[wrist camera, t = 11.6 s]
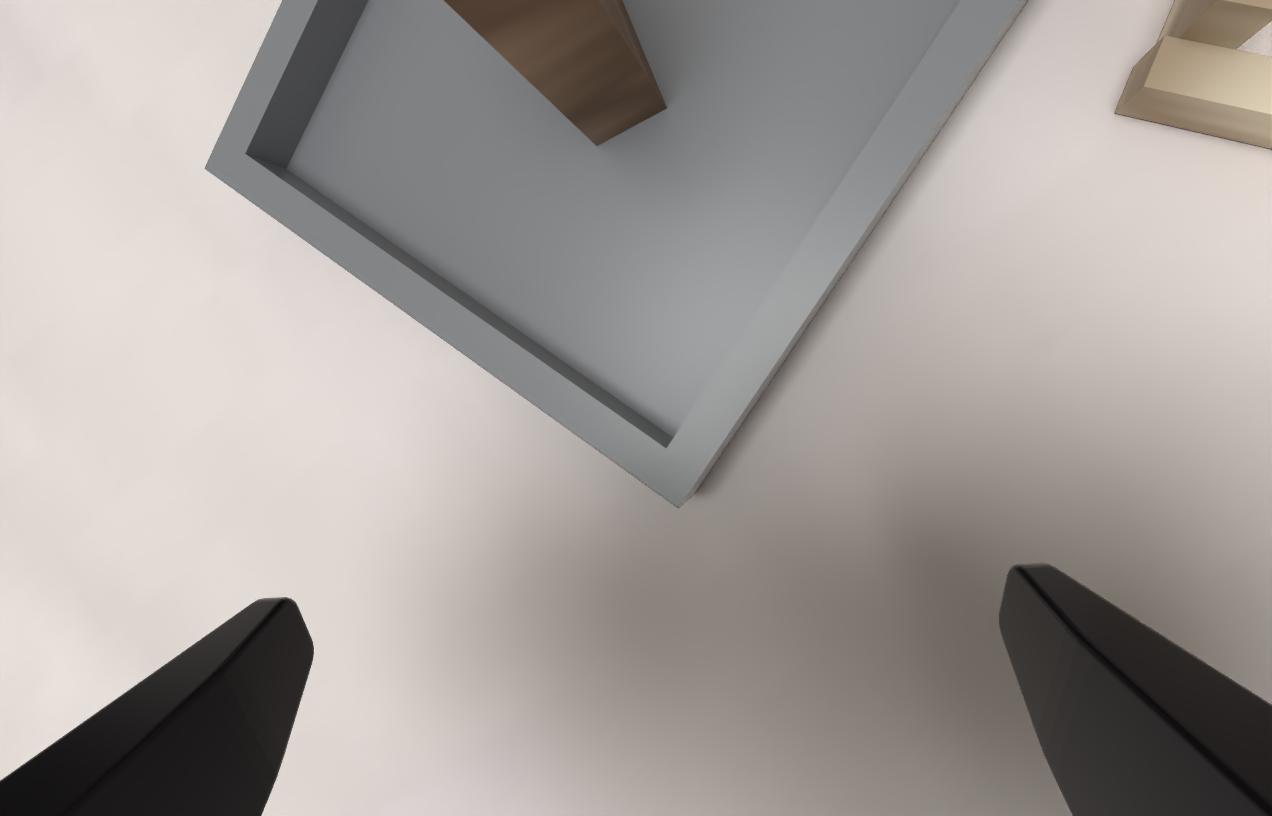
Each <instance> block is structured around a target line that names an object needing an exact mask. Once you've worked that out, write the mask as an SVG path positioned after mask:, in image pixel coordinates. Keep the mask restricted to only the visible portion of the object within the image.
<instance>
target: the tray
mask: <svg viewBox="0 0 1272 816" xmlns="http://www.w3.org/2000/svg"><path fill="white" fill-rule="evenodd" d="M1027 1H1028V0H623V3H624V5H625V8H626V10H627V13H628V15H629V17H630V20H631V22H632V25H633V27H634V29H635V32H636V34H637V37H638V39H639V41H640V44H641V46H642V49H643V51H644V53H645V56H646V58H647V61H648V63H649V66H650V68H651V70H652V73H653V75H654V78H655V80H656V82H657V85H658V87H659V90H660V92H661V94H662V97H663V99H664V102H665V104H666V106H667V109H665V110H663V111H661V112H659V113H658V114H656V115H654V116H652V117H650V118H648V119H646V120H645V121H643V122H641V123H639V124H637V125H635V126H633V127H632V128H630V129H628V130H626V131H624V132H622V133H620V134H619V135H617V136H615V137H613V138H611V139H609V140H608V141H606V142H604V143H602V144H600V145H598V146H596V145H595V144H594V143H593V142H592V141H591V140H590V139H589V138H587V137H586V136H585V135H584V134H583V133H582V132H581V131H580V130H579V129H578V128H577V127H576V126H575V125H574V124H573V123H572V122H571V121H570V120H569V119H568V118H566V117H565V116H564V115H563V114H562V113H561V112H560V111H559V110H558V109H557V108H556V107H555V106H554V105H553V104H552V103H551V102H550V101H549V100H548V99H547V98H545V97H544V96H543V95H542V94H541V93H540V92H539V91H538V90H537V89H536V88H535V87H534V86H533V85H532V84H531V83H530V82H529V81H528V80H527V79H526V78H525V77H523V76H522V75H521V74H520V73H519V72H518V71H517V70H516V69H515V68H514V67H513V66H512V65H511V64H510V63H509V62H508V61H507V60H506V59H505V58H504V57H502V56H501V55H500V54H499V53H498V52H497V51H496V50H495V49H494V48H493V47H492V46H491V45H490V44H489V43H488V42H487V41H486V40H485V39H484V38H483V37H481V36H480V35H479V34H478V33H477V32H476V31H475V30H474V29H473V28H472V27H471V26H470V25H469V24H468V23H467V22H466V21H465V20H464V19H463V18H462V17H460V16H459V15H458V14H457V13H456V12H455V11H454V10H453V9H452V8H451V7H450V6H449V5H448V4H447V3H446V2H445V1H444V0H282V2H281V5H280V7H279V9H278V11H277V13H276V15H275V17H274V20H273V22H272V24H271V26H270V28H269V30H268V33H267V35H266V37H265V39H264V41H263V43H262V45H261V48H260V50H259V52H258V54H257V56H256V58H255V61H254V63H253V65H252V67H251V69H250V71H249V73H248V76H247V78H246V80H245V82H244V84H243V86H242V89H241V91H240V93H239V95H238V97H237V99H236V102H235V104H234V106H233V108H232V110H231V112H230V114H229V117H228V119H227V121H226V123H225V125H224V127H223V130H222V132H221V134H220V136H219V138H218V140H217V142H216V145H215V147H214V149H213V151H212V153H211V155H210V158H209V160H208V162H207V164H206V166H205V169H206V170H207V171H209V172H210V173H211V174H213V175H214V176H216V177H217V178H218V179H220V180H221V181H223V182H224V183H225V184H227V185H228V186H230V187H231V188H232V189H234V190H235V191H237V192H238V193H239V194H241V195H242V196H244V197H245V198H246V199H248V200H249V201H251V202H252V203H253V204H255V205H256V206H257V207H259V208H260V209H262V210H263V211H264V212H266V213H267V214H269V215H270V216H271V217H273V218H274V219H276V220H277V221H278V222H280V223H281V224H283V225H284V226H285V227H287V228H288V229H290V230H291V231H292V232H294V233H295V234H297V235H298V236H299V237H301V238H302V239H303V240H305V241H306V242H308V243H309V244H310V245H312V246H313V247H315V248H316V249H317V250H319V251H320V252H322V253H323V254H324V255H326V256H327V257H329V258H330V259H331V260H333V261H334V262H336V263H337V264H338V265H340V266H341V267H343V268H344V269H345V270H347V271H348V272H349V273H351V274H352V275H354V276H355V277H356V278H358V279H359V280H361V281H362V282H363V283H365V284H366V285H368V286H369V287H370V288H372V289H373V290H375V291H376V292H377V293H379V294H380V295H382V296H383V297H384V298H386V299H387V300H389V301H390V302H391V303H393V304H394V305H395V306H397V307H398V308H400V309H401V310H402V311H404V312H405V313H407V314H408V315H409V316H411V317H412V318H414V319H415V320H416V321H418V322H419V323H421V324H422V325H423V326H425V327H426V328H428V329H429V330H430V331H432V332H433V333H435V334H436V335H437V336H439V337H440V338H441V339H443V340H444V341H446V342H447V343H448V344H450V345H451V346H453V347H454V348H455V349H457V350H458V351H460V352H461V353H462V354H464V355H465V356H467V357H468V358H469V359H471V360H472V361H474V362H475V363H476V364H478V365H479V366H481V367H482V368H483V369H485V370H486V371H487V372H489V373H490V374H492V375H493V376H494V377H496V378H497V379H499V380H500V381H501V382H503V383H504V384H506V385H507V386H508V387H510V388H511V389H513V390H514V391H515V392H517V393H518V394H520V395H521V396H522V397H524V398H525V399H527V400H528V401H529V402H531V403H532V404H533V405H535V406H536V407H538V408H539V409H540V410H542V411H543V412H545V413H546V414H547V415H549V416H550V417H552V418H553V419H554V420H556V421H557V422H559V423H560V424H561V425H563V426H564V427H566V428H567V429H568V430H570V431H571V432H573V433H574V434H575V435H577V436H578V437H579V438H581V439H582V440H584V441H585V442H586V443H588V444H589V445H591V446H592V447H593V448H595V449H596V450H598V451H599V452H600V453H602V454H603V455H605V456H606V457H607V458H609V459H610V460H612V461H613V462H614V463H616V464H617V465H619V466H620V467H621V468H623V469H624V470H626V471H627V472H628V473H630V474H631V475H632V476H634V477H635V478H637V479H638V480H639V481H641V482H642V483H644V484H645V485H646V486H648V487H649V488H651V489H652V490H653V491H655V492H656V493H658V494H659V495H660V496H662V497H663V498H665V499H666V500H667V501H669V502H670V503H672V504H673V505H674V506H676V507H677V508H679V507H680V506H682V505H683V504H684V503H685V502H686V501H687V500H688V499H690V498H691V497H692V496H693V495H694V494H695V493H696V491H697V490H698V488H699V487H700V485H701V484H702V482H703V481H704V479H705V478H706V476H707V475H708V473H709V472H710V470H711V469H712V467H713V466H714V465H715V463H716V462H717V460H718V459H719V457H720V456H721V454H722V453H723V451H724V450H725V448H726V447H727V445H728V444H729V442H730V441H731V439H732V438H733V436H734V435H735V433H736V432H737V430H738V429H739V427H740V426H741V425H742V423H743V422H744V420H745V419H746V417H747V416H748V414H749V413H750V411H751V410H752V408H753V407H754V405H755V404H756V402H757V401H758V399H759V398H760V396H761V395H762V393H763V392H764V390H765V389H766V388H767V386H768V385H769V383H770V382H771V380H772V379H773V377H774V376H775V374H776V373H777V371H778V370H779V368H780V367H781V365H782V364H783V362H784V361H785V359H786V358H787V356H788V355H789V353H790V352H791V351H792V349H793V348H794V346H795V345H796V343H797V342H798V340H799V339H800V337H801V336H802V334H803V333H804V331H805V330H806V328H807V327H808V325H809V324H810V322H811V321H812V319H813V318H814V316H815V315H816V314H817V312H818V311H819V309H820V308H821V306H822V305H823V303H824V302H825V300H826V299H827V297H828V296H829V294H830V293H831V291H832V290H833V288H834V287H835V285H836V284H837V282H838V281H839V279H840V278H841V277H842V275H843V274H844V272H845V271H846V269H847V268H848V266H849V265H850V263H851V262H852V260H853V259H854V257H855V256H856V254H857V253H858V251H859V250H860V248H861V247H862V245H863V244H864V242H865V241H866V240H867V238H868V237H869V235H870V234H871V232H872V231H873V229H874V228H875V226H876V225H877V223H878V222H879V220H880V219H881V217H882V216H883V214H884V213H885V211H886V210H887V208H888V207H889V205H890V204H891V203H892V201H893V200H894V198H895V197H896V195H897V194H898V192H899V191H900V189H901V188H902V186H903V185H904V183H905V182H906V180H907V179H908V177H909V176H910V174H911V173H912V171H913V170H914V168H915V167H916V166H917V164H918V163H919V161H920V160H921V158H922V157H923V155H924V154H925V152H926V151H927V149H928V148H929V146H930V145H931V143H932V142H933V140H934V139H935V137H936V136H937V134H938V133H939V131H940V130H941V128H942V127H943V126H944V124H945V123H946V121H947V120H948V118H949V117H950V115H951V114H952V112H953V111H954V109H955V108H956V106H957V105H958V103H959V102H960V100H961V99H962V97H963V96H964V94H965V93H966V91H967V90H968V89H969V87H970V86H971V84H972V83H973V81H974V80H975V78H976V77H977V75H978V74H979V72H980V71H981V69H982V68H983V66H984V65H985V63H986V62H987V60H988V59H989V57H990V56H991V54H992V53H993V52H994V50H995V49H996V47H997V46H998V44H999V43H1000V41H1001V40H1002V38H1003V37H1004V35H1005V34H1006V32H1007V31H1008V29H1009V28H1010V26H1011V25H1012V23H1013V22H1014V20H1015V19H1016V17H1017V16H1018V15H1019V13H1020V12H1021V10H1022V9H1023V7H1024V6H1025V4H1026V3H1027Z"/></svg>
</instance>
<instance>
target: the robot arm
mask: <svg viewBox="0 0 1272 816" xmlns="http://www.w3.org/2000/svg"><path fill="white" fill-rule="evenodd" d="M999 626H1000V631H1001V635H1002V638H1003V641H1004V643H1005V646H1006V649H1007V652H1008V655H1009V658H1010V660H1011V663H1012V666H1013V669H1014V672H1015V675H1016V677H1017V680H1018V683H1019V686H1020V689H1021V692H1022V694H1023V697H1024V700H1025V703H1026V706H1027V709H1028V712H1029V714H1030V717H1031V720H1032V723H1033V726H1034V729H1035V731H1036V734H1037V737H1038V739H1039V742H1040V745H1041V747H1042V750H1043V753H1044V755H1045V757H1046V760H1047V762H1048V764H1049V766H1050V768H1051V771H1052V773H1053V775H1054V777H1055V779H1056V781H1057V784H1058V786H1059V788H1060V790H1061V792H1062V794H1063V796H1064V798H1065V800H1066V802H1067V805H1068V807H1069V809H1070V811H1071V813H1072V815H1073V816H1272V705H1271V704H1270V703H1268V702H1266V701H1265V700H1263V699H1262V698H1260V697H1258V696H1257V695H1255V694H1254V693H1252V692H1251V691H1249V690H1247V689H1246V688H1244V687H1243V686H1241V685H1240V684H1238V683H1236V682H1235V681H1233V680H1232V679H1230V678H1229V677H1227V676H1225V675H1224V674H1222V673H1221V672H1219V671H1218V670H1216V669H1214V668H1213V667H1211V666H1210V665H1208V664H1206V663H1205V662H1203V661H1202V660H1200V659H1199V658H1197V657H1195V656H1194V655H1192V654H1191V653H1189V652H1188V651H1186V650H1184V649H1183V648H1181V647H1180V646H1178V645H1177V644H1175V643H1173V642H1172V641H1170V640H1169V639H1167V638H1166V637H1164V636H1162V635H1161V634H1159V633H1158V632H1156V631H1154V630H1153V629H1151V628H1150V627H1148V626H1147V625H1145V624H1143V623H1142V622H1140V621H1139V620H1137V619H1136V618H1134V617H1132V616H1131V615H1129V614H1128V613H1126V612H1125V611H1123V610H1121V609H1120V608H1118V607H1117V606H1115V605H1114V604H1112V603H1110V602H1109V601H1107V600H1106V599H1104V598H1102V597H1101V596H1099V595H1098V594H1096V593H1095V592H1093V591H1091V590H1090V589H1088V588H1087V587H1085V586H1084V585H1082V584H1080V583H1079V582H1077V581H1076V580H1074V579H1073V578H1071V577H1069V576H1068V575H1066V574H1065V573H1063V572H1062V571H1060V570H1058V569H1057V568H1055V567H1053V566H1051V565H1049V564H1044V563H1038V564H1018V565H1015V566H1013V567H1011V569H1010V570H1009V572H1008V575H1007V579H1006V584H1005V588H1004V593H1003V598H1002V602H1001V607H1000V612H999ZM313 655H314V647H313V641H312V638H311V636H310V634H309V631H308V629H307V627H306V624H305V622H304V620H303V617H302V615H301V613H300V610H299V608H298V606H297V604H296V602H295V601H293V600H292V599H291V598H287V597H281V598H263V599H259V600H257V601H255V602H253V603H252V604H250V605H249V606H248V607H246V608H245V609H243V610H242V611H240V612H239V613H238V614H236V615H235V616H233V617H232V618H231V619H229V620H228V621H226V622H225V623H223V624H222V625H221V626H219V627H218V628H216V629H215V630H214V631H212V632H211V633H209V634H208V635H206V636H205V637H204V638H202V639H201V640H199V641H198V642H196V643H195V644H194V645H192V646H191V647H189V648H188V649H187V650H185V651H184V652H182V653H181V654H179V655H178V656H177V657H175V658H174V659H172V660H171V661H170V662H168V663H167V664H165V665H164V666H162V667H161V668H160V669H158V670H157V671H155V672H154V673H152V674H151V675H150V676H148V677H147V678H145V679H144V680H143V681H141V682H140V683H138V684H137V685H135V686H134V687H133V688H131V689H130V690H128V691H127V692H126V693H124V694H123V695H121V696H120V697H118V698H117V699H116V700H114V701H113V702H111V703H110V704H108V705H107V706H106V707H104V708H103V709H101V710H100V711H99V712H97V713H96V714H94V715H93V716H91V717H90V718H89V719H87V720H86V721H84V722H83V723H82V724H80V725H79V726H77V727H76V728H74V729H73V730H72V731H70V732H69V733H67V734H66V735H64V736H63V737H62V738H60V739H59V740H57V741H56V742H55V743H53V744H52V745H50V746H49V747H47V748H46V749H45V750H43V751H42V752H40V753H39V754H37V755H36V756H35V757H33V758H32V759H30V760H29V761H28V762H26V763H25V764H23V765H22V766H20V767H19V768H18V769H16V770H15V771H13V772H12V773H11V774H9V775H8V776H6V777H5V778H3V779H2V780H1V781H0V816H261V815H262V813H263V810H264V808H265V805H266V803H267V801H268V798H269V796H270V793H271V791H272V788H273V785H274V783H275V780H276V778H277V775H278V772H279V769H280V766H281V763H282V760H283V757H284V754H285V751H286V748H287V744H288V741H289V738H290V734H291V731H292V728H293V724H294V721H295V718H296V714H297V711H298V708H299V705H300V701H301V698H302V695H303V691H304V688H305V685H306V681H307V678H308V675H309V671H310V668H311V665H312V661H313Z"/></svg>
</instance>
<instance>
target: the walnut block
mask: <svg viewBox="0 0 1272 816" xmlns="http://www.w3.org/2000/svg"><path fill="white" fill-rule="evenodd" d="M444 1H445V2H446V3H447V4H448V5H449V6H450V7H451V8H452V9H453V10H454V11H455V12H456V13H457V14H458V15H459V16H460V17H462V18H463V19H464V20H465V21H466V22H467V23H468V24H469V25H470V26H471V27H472V28H473V29H474V30H475V31H476V32H477V33H478V34H479V35H480V36H481V37H483V38H484V39H485V40H486V41H487V42H488V43H489V44H490V45H491V46H492V47H493V48H494V49H495V50H496V51H497V52H498V53H499V54H500V55H501V56H502V57H504V58H505V59H506V60H507V61H508V62H509V63H510V64H511V65H512V66H513V67H514V68H515V69H516V70H517V71H518V72H519V73H520V74H521V75H522V76H523V77H525V78H526V79H527V80H528V81H529V82H530V83H531V84H532V85H533V86H534V87H535V88H536V89H537V90H538V91H539V92H540V93H541V94H542V95H543V96H544V97H545V98H547V99H548V100H549V101H550V102H551V103H552V104H553V105H554V106H555V107H556V108H557V109H558V110H559V111H560V112H561V113H562V114H563V115H564V116H565V117H566V118H568V119H569V120H570V121H571V122H572V123H573V124H574V125H575V126H576V127H577V128H578V129H579V130H580V131H581V132H582V133H583V134H584V135H585V136H586V137H587V138H589V139H590V140H591V141H592V142H593V143H594V144H595V145H596V146H598V145H600V144H602V143H604V142H606V141H608V140H609V139H611V138H613V137H615V136H617V135H619V134H620V133H622V132H624V131H626V130H628V129H630V128H632V127H633V126H635V125H637V124H639V123H641V122H643V121H645V120H646V119H648V118H650V117H652V116H654V115H656V114H658V113H659V112H661V111H663V110H665V109H667V106H666V104H665V102H664V99H663V97H662V94H661V92H660V90H659V87H658V85H657V82H656V80H655V78H654V75H653V73H652V70H651V68H650V66H649V63H648V61H647V58H646V56H645V53H644V51H643V49H642V46H641V44H640V41H639V39H638V37H637V34H636V32H635V29H634V27H633V25H632V22H631V20H630V17H629V15H628V13H627V10H626V8H625V5H624V3H623V0H444Z"/></svg>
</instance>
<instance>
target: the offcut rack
mask: <svg viewBox="0 0 1272 816" xmlns="http://www.w3.org/2000/svg"><path fill="white" fill-rule="evenodd" d="M1271 21H1272V0H1175V1H1174V3H1173V6H1172V8H1171V11H1170V13H1169V16H1168V18H1167V20H1166V23H1165V25H1164V28H1163V30H1162V32H1161V35H1160V37H1159V40H1158V42H1157V44H1156V45H1155V46H1154V47H1153V48H1152V49H1151V50H1150V51H1149V52H1148V53H1147V54H1146V55H1145V56H1144V57H1143V58H1142V59H1141V60H1140V61H1139V62H1138V63H1137V64H1136V65H1135V66H1134V67H1133V70H1132V72H1131V75H1130V77H1129V79H1128V82H1127V84H1126V87H1125V89H1124V92H1123V94H1122V96H1121V99H1120V101H1119V104H1118V106H1117V109H1116V111H1115V113H1117V114H1121V115H1126V116H1130V117H1134V118H1139V119H1143V120H1147V121H1152V122H1156V123H1160V124H1165V125H1169V126H1174V127H1178V128H1182V129H1187V130H1191V131H1195V132H1200V133H1204V134H1209V135H1213V136H1217V137H1222V138H1226V139H1230V140H1235V141H1239V142H1244V143H1248V144H1252V145H1257V146H1261V147H1265V148H1270V149H1272V57H1269V56H1264V55H1259V54H1255V53H1250V52H1245V51H1240V50H1236V49H1237V48H1238V47H1239V46H1241V45H1242V44H1243V43H1244V42H1246V41H1247V40H1248V39H1249V38H1251V37H1252V36H1253V35H1254V34H1256V33H1257V32H1258V31H1259V30H1261V29H1262V28H1263V27H1264V26H1266V25H1267V24H1268V23H1269V22H1271Z"/></svg>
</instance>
